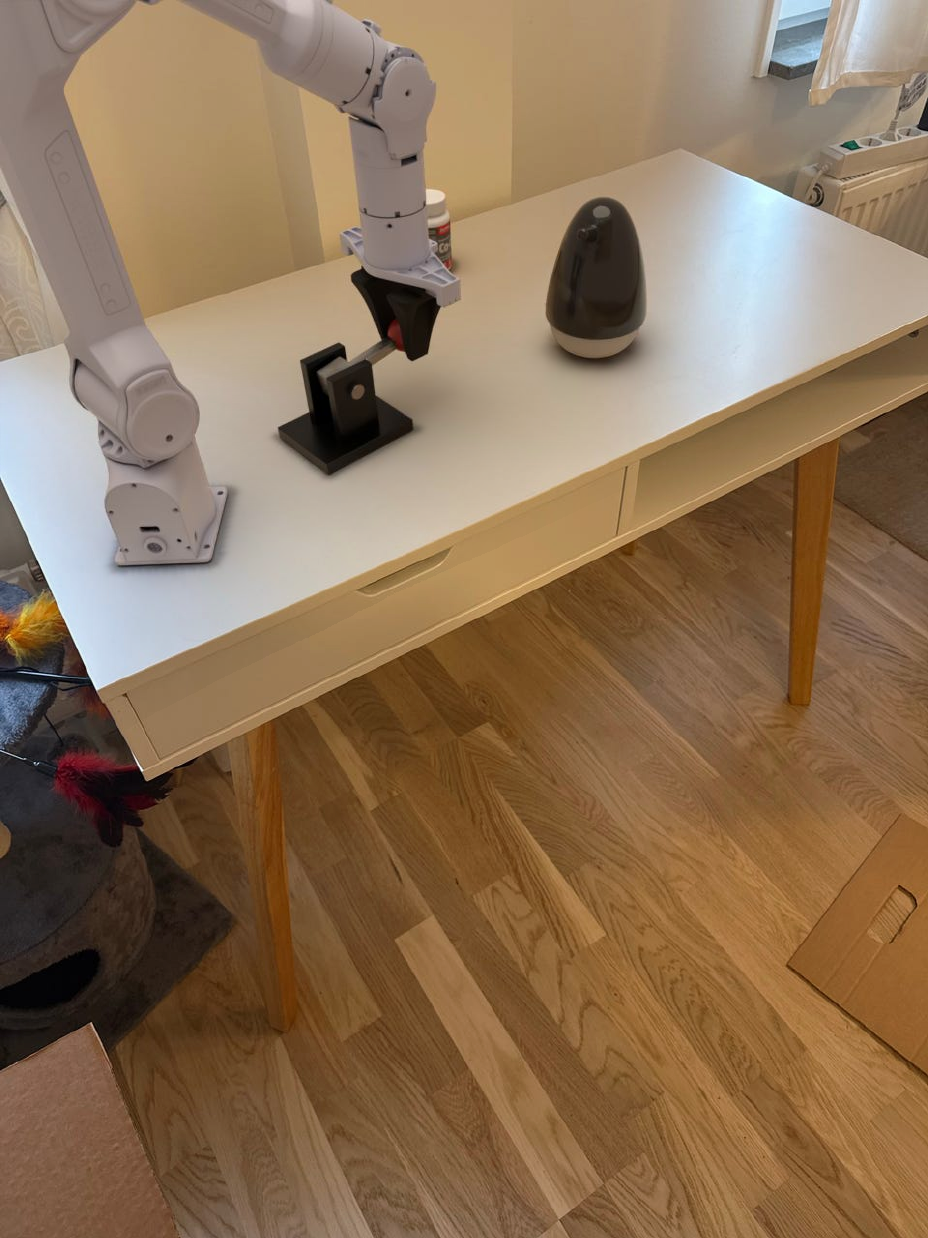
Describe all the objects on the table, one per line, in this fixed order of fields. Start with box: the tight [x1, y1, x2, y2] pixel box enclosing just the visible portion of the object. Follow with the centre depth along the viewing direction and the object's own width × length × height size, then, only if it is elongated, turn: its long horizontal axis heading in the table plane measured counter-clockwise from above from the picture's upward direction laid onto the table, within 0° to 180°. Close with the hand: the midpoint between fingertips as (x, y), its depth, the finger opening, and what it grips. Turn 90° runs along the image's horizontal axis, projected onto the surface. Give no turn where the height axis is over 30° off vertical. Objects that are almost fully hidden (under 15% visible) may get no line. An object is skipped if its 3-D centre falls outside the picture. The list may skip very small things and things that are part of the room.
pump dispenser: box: [545, 196, 648, 359], centre depth 92 cm, size 10×10×15 cm
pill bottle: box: [426, 188, 453, 272], centre depth 108 cm, size 5×5×8 cm
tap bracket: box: [277, 341, 414, 476], centre depth 86 cm, size 10×8×8 cm
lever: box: [316, 318, 405, 396], centre depth 86 cm, size 11×3×3 cm, turn 132°
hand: (405, 348), depth 88 cm, fingers closed on lever, 3 cm apart
